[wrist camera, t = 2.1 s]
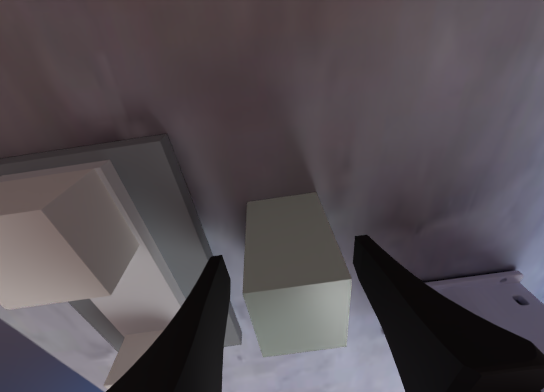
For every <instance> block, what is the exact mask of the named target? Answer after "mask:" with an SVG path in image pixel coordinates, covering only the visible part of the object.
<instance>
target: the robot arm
mask: <svg viewBox="0 0 544 392" xmlns="http://www.w3.org/2000/svg"><path fill="white" fill-rule="evenodd" d="M353 264H354V267H355V270H356V273H357V276H358V278H359V281H360V283H361V285H362V287H363V289H364V291H365V293H366V295H367V297H368V299H369V302H370V304H371V306H372V308H373V310H374V312H375V314H376V316H377V318H378V320H379V322H380V324H381V326H382V329H383V331H384V334H385V337H386V340H387V342H388V344H389V347H390V350H391V352H392V355H393V358H394V361H395V363H396V366H397V369H398V372H399V374H400V377H401V380H402V383H403V386H404V389H405V392H544V304H543V303H542V302H540V301H539V300H538V299H537V298H536V297H535V296H534V295H533V294H532V293H530V292H529V291H528V290H527V289H526V288H525V287H524V286H523V285H522V284H520V281H521V280H522V278H523V274H522V273H520V272H519V271H508V272H500V273H493V274H486V275H478V276H471V277H463V278H456V279H449V280H441V281H434V282H426V283H424V282H422V281H421V280H420V279H418V278H417V277H416V276H414V275H413V274H412V273H410V272H409V271H408V270H407V269H405V268H404V267H403V266H402V265H400V264H399V263H398V262H397V261H396V260H395V259H393V258H392V257H391V256H390V255H389V254H388V253H386V252H385V251H384V250H383V249H382V248H381V247H380V246H379V245H378V244H376V243H375V242H374V241H373V240H372V239H371V238H370V237H369V236H368V235H361V236H355V244H354V256H353ZM229 303H230V277H229V274H228V271H227V268H226V265H225V262H224V260H223V257H222V255H219V256H212V257H210V258H209V260H208V262H207V264H206V266H205V268H204V269H203V271H202V273H201V275H200V277H199V279H198V280H197V282H196V284H195V285H194V287H193V289H192V290H191V292H190V294H189V295H188V297H187V298H186V300H185V301H184V303H183V304H182V306H181V307H180V309H179V310H178V312H177V313H176V315H175V316H174V317H173V319H172V320H171V321H170V323H169V324H168V325H167V327H166V328H165V329H164V330H163V332H162V333H161V334H160V335H159V337H158V338H157V339H156V340H155V341H154V343H153V344H152V345H151V346H150V347H149V348H148V349H147V351H146V352H145V353H144V354H143V355H142V356H141V357H140V358H139V359H138V360H137V361H136V362H135V363H134V364H133V366H132V367H131V368H130V369H129V370H128V371H127V372H126V373H125V374H124V375H123V376H122V377H121V378H120V379H119V380H118V381H117V382H115V383H114V384H113V385H112V386H111V387H110V388H109V389H108V390H107V391H106V392H222V367H223V348H224V339H225V332H226V325H227V318H228V310H229Z"/></svg>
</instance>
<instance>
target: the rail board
mask: <svg viewBox="0 0 544 392" xmlns="http://www.w3.org/2000/svg"><path fill="white" fill-rule="evenodd" d="M212 256H213V255H212V252H211V249H210V247H209V244H208V241H207V239H206V236H205V233H204V231H203V228H202V225H201V223H200V220H199V217H198V215H197V212H196V209H195V207H194V204H193V202H192V199H191V196H190V194H189V191H188V188H187V186H186V183H185V180H184V178H183V175H182V172H181V170H180V167H179V164H178V162H177V159H176V157H175V154H174V151H173V149H172V146H171V143H170V141H169V138H168V135H167V134H162V135H156V136H149V137H142V138H135V139H129V140H122V141H115V142H109V143H102V144H95V145H88V146H82V147H75V148H68V149H62V150H55V151H48V152H42V153H35V154H28V155H21V156H15V157H8V158H1V159H0V305H1V306H3V307H4V308H5V309H6V310H10V309H17V308H24V307H32V306H39V305H46V304H54V303H61V302H69V303H70V304H71V305H72V306H73V307H74V308H75V309H76V310H77V311H78V312H79V313H80V314H81V315H82V316H83V317H84V318H85V319H86V320H87V321H88V322H89V323H90V324H91V325H92V326H93V327H94V328H95V329H96V330H97V331H98V332H99V334H100V335H101V336H102V337H103V338H104V339H105V340H106V341H107V342H108V343H109V344H110V345H111V346H112V347H113V348H114V349H115V350H116V351H117V352H118V354H117V356H116V359H115V361H114V363H113V366H112V368H111V370H110V372H109V375H108V377H107V379H106V381H105V384H104V387H106V388H107V389H109V388H110V387H111V386H112V385H113V384H114V383H115V382H117V381H118V380H119V379H120V378H121V377H122V376H123V375H124V374H125V373H126V372H127V371H128V370H129V369H130V368H131V367H132V366H133V364H134V363H135V362H136V361H137V360H138V359H139V358H140V357H141V356H142V355H143V354H144V353H145V352H146V351H147V349H148V348H149V347H150V346H151V345H152V344H153V343H154V341H155V340H156V339H157V338H158V337H159V335H160V334H161V333H162V332H163V330H164V329H165V328H166V327H167V325H168V324H169V323H170V321H171V320H172V319H173V317H174V316H175V315H176V313H177V312H178V310H179V309H180V307H181V306H182V304H183V303H184V301H185V300H186V298H187V297H188V295H189V294H190V292H191V290H192V289H193V287H194V285H195V284H196V282H197V280H198V279H199V277H200V275H201V273H202V271H203V269H204V268H205V266H206V264H207V262H208V260H209V258H210V257H212ZM241 341H242V331H241V329H240V326H239V323H238V321H237V318H236V315H235V313H234V310H233V308H232V305H231V302H230V303H229V310H228V318H227V325H226V332H225V339H224V347H226V346H234V345H241Z"/></svg>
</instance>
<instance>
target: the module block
mask: <svg viewBox="0 0 544 392" xmlns="http://www.w3.org/2000/svg"><path fill="white" fill-rule="evenodd" d="M351 285H352V278H351V275H350V273H349V271H348V268H347V266H346V263H345V261H344V258H343V256H342V254H341V251H340V249H339V246H338V244H337V241H336V239H335V237H334V234H333V232H332V229H331V227H330V224H329V222H328V220H327V217H326V215H325V212H324V210H323V207H322V205H321V203H320V200H319V198H318V195H317V193H316V192H314V193H307V194H300V195H293V196H286V197H279V198H272V199H265V200H258V201H251V202H247V215H246V235H245V255H244V275H243V297H244V300H245V303H246V306H247V309H248V312H249V315H250V318H251V321H252V325H253V328H254V331H255V334H256V337H257V340H258V343H259V346H260V349H261V352H262V356H263V357H270V356H278V355H286V354H294V353H301V352H309V351H317V350H325V349H332V348H340V347H346V346H347V334H348V322H349V310H350V297H351Z"/></svg>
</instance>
